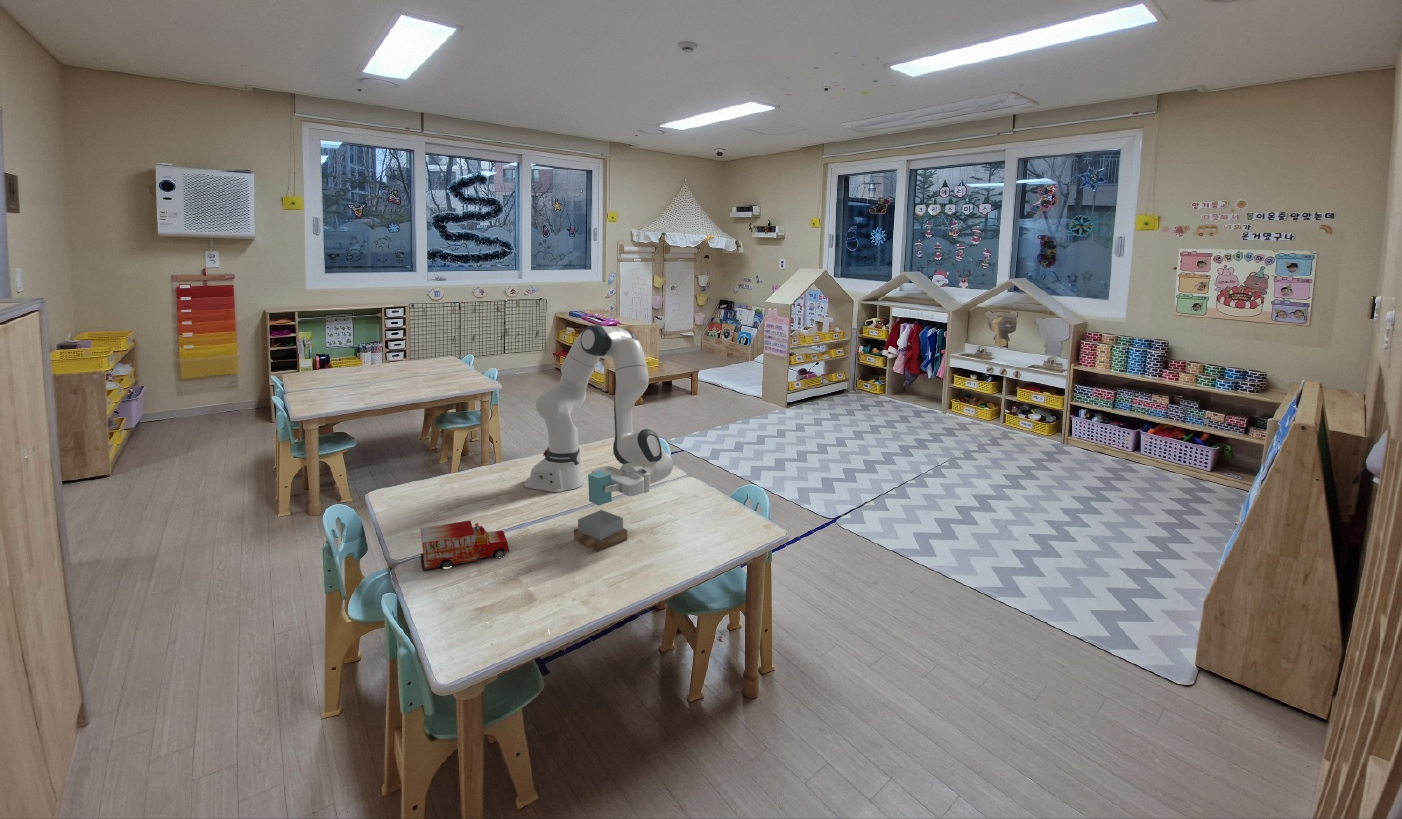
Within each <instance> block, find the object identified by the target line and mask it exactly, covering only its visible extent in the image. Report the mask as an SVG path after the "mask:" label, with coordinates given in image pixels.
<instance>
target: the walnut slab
mask: <svg viewBox="0 0 1402 819" xmlns="http://www.w3.org/2000/svg"><path fill="white" fill-rule="evenodd" d="M573 540H574V541H576V542H578V543H579V544H581V545H583V546H585V547H586V548H588V549H590V550H592V551H594V552H596V553H598V552H601V551H604V550H607V549H609V548H611V547H614V546H617V545H619V544H622V543H624V542H627V541H628V529H626V528H624V527H623V530H621V531H619V532H617V533H615V534H613V535H611V536H608V537H606V538H604V539H602V540H598V539H596V538H593V537H591V536H588V535H586V534H584V533H581V532H579V531H578V527H577V528H575V529H574V530H573Z"/></svg>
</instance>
